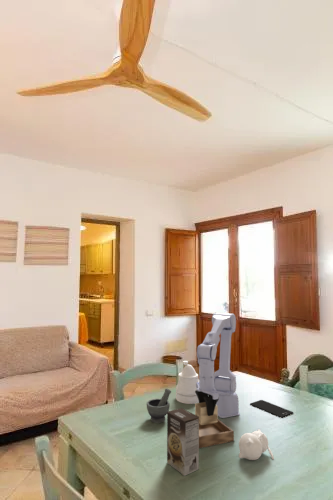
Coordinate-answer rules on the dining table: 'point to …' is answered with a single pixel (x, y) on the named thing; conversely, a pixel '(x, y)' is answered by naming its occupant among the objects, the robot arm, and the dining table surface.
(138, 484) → the dining table surface
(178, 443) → the coffee box
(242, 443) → the cat figurine
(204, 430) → the large crate
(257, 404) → the cell phone
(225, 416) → the robot arm
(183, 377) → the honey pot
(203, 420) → the small crate
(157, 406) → the mortar and pestle
